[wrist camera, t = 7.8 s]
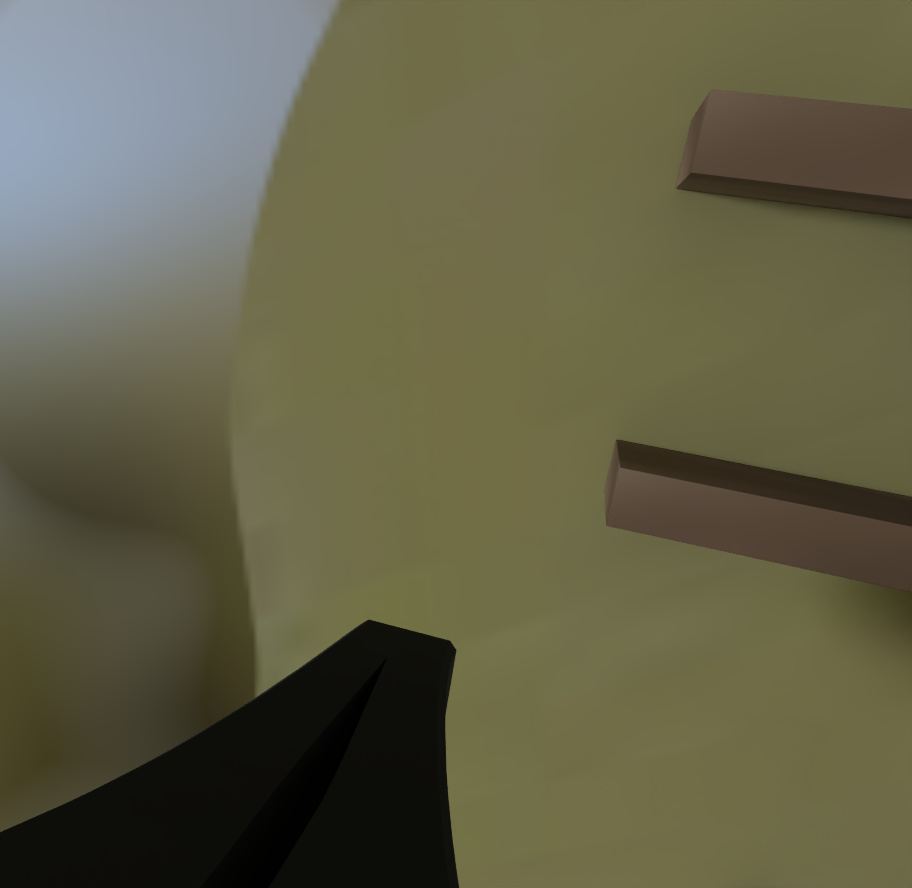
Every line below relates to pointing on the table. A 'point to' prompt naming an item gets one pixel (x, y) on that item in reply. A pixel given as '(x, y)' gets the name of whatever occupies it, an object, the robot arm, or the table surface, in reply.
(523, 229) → the table surface
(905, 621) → the table surface
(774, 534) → the cable track
